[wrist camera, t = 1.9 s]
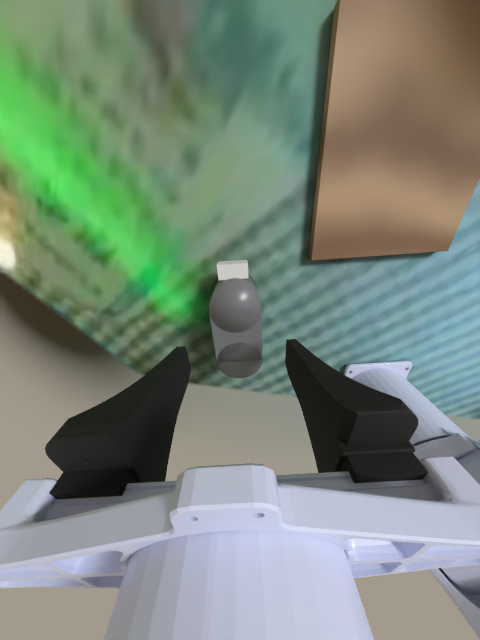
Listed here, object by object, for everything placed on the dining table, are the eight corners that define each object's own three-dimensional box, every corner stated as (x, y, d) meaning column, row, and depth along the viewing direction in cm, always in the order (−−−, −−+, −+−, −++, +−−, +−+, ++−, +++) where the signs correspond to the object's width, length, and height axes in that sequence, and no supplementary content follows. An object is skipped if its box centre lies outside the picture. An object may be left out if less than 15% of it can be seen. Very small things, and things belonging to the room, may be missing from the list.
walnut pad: (439, 249, 17) (447, 250, 16) (308, 258, 17) (311, 260, 16) (546, -12, 10) (568, -29, 10) (334, 8, 11) (341, -8, 10)
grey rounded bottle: (257, 345, 22) (262, 376, 17) (223, 347, 22) (219, 379, 17) (254, 255, 17) (260, 266, 12) (211, 258, 17) (202, 270, 13)
